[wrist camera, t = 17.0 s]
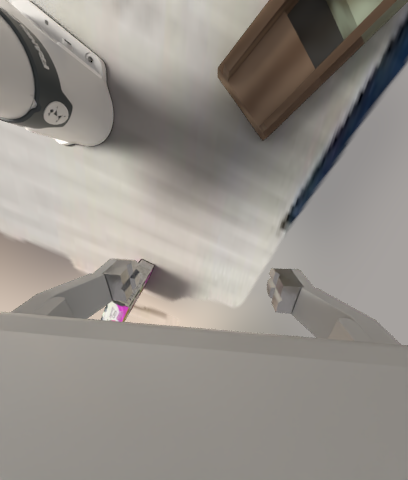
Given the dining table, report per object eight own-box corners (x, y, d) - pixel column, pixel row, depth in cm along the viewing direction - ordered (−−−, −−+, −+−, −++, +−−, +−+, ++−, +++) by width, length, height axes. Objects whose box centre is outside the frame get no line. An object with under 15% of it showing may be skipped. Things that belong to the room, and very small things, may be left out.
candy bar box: (144, 288, 52) (116, 336, 37) (130, 282, 52) (96, 328, 37) (156, 265, 48) (129, 308, 33) (141, 257, 47) (106, 299, 32)
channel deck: (217, 77, 29) (218, 55, 23) (352, -97, 21) (401, -192, 15) (262, 140, 32) (271, 134, 27) (392, 14, 24) (443, -31, 19)
